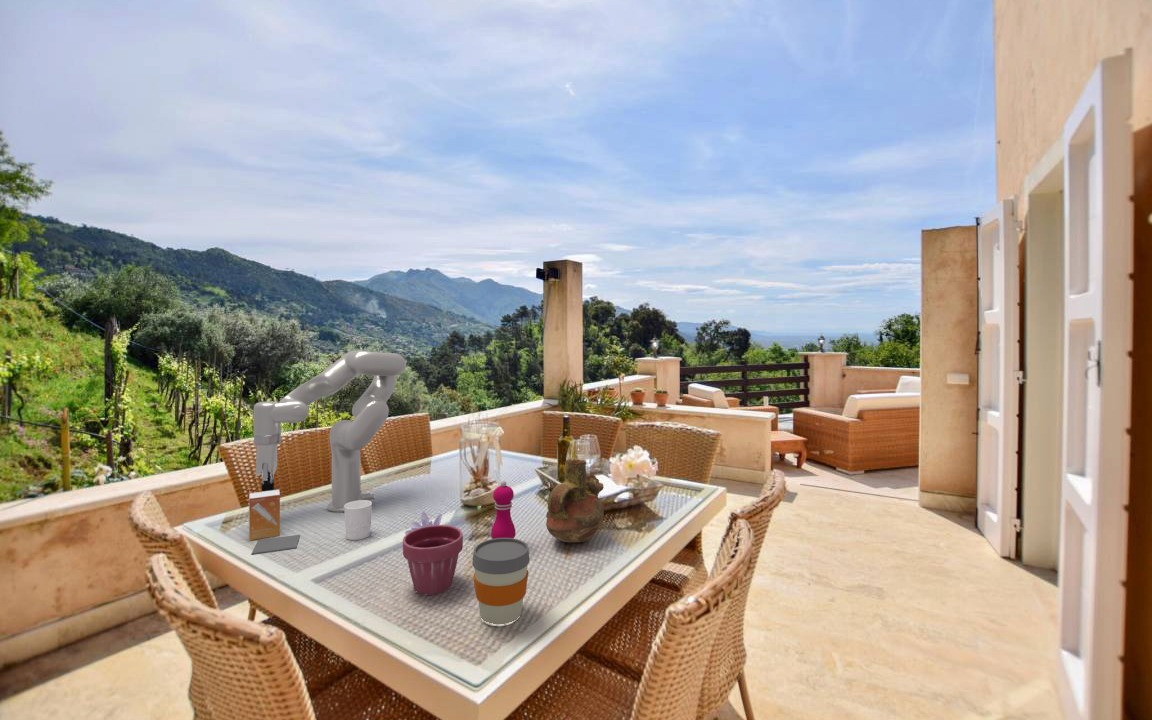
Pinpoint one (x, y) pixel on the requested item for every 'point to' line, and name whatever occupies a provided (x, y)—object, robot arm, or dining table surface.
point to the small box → (264, 514)
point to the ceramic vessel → (575, 505)
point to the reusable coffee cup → (500, 578)
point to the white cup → (358, 519)
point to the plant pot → (432, 557)
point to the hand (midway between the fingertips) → (268, 494)
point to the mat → (276, 544)
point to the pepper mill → (503, 512)
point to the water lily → (424, 522)
